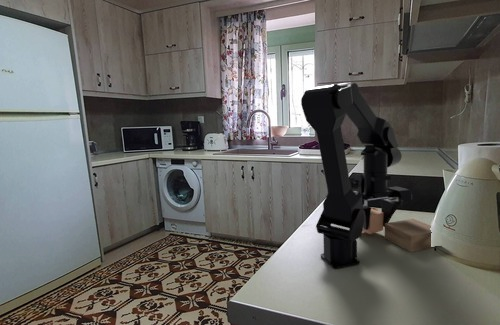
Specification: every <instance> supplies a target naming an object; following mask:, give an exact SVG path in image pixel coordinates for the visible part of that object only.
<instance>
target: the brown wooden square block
mask: <svg viewBox="0 0 500 325" xmlns="http://www.w3.org/2000/svg"><path fill="white" fill-rule="evenodd" d="M431 226H432V225H430V224H427V223H425V222H423V221H420V220H418V219H415V218H411V219H405V220H404V219H403V220H398V221H397V220H396V221H391V222H390V221H389V222H388V223H385V227H384V238H385V239H386V240H388V241H389V242H391V243H393V244H395V245H397V246H399V247H401V248H403V249H404V250H406V251H408V252H410V253H412V252H413V253H414V252H418V251H419V252H420V251H422V250H428V249H432V248H431V233H432V232H431V230H430V228H431Z"/></svg>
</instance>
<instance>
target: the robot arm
mask: <svg viewBox="0 0 500 325" xmlns="http://www.w3.org/2000/svg"><path fill="white" fill-rule="evenodd" d="M359 88H360V87H359V85H358V84H357V83H356V82H352V81H351V82H343V83H335V84H330V85H321V86H316V87H314V86H313V87H308V88H307V89H306V90H305V91H304V92H303V95H302V97H301V99H300V103H301V104H300V105H301V108H302V112H303V114H304V118H305V120H306V123H307V124H308V125H309V126H310V127H311V128H312V129H313V130H314V131H315V133H316V136H317V141H318V142H317V143H318V148H319V153H320V157H321V163H322V168H323V173H324V174H323V175H324V178H325V183H326V184H325V186H326V188H327V194H326V196H325V198H324V201H323V203H322V207H323V209H322V212H321V214H320V216H319V219H318V221H317V223H316V225H315V228H316V231H317V234H320V235H321V234H322V235H323V253H320V258H322V259H323V260H324V261H325V262H326V263H327V264H328V265H329V266H330V267H331V268H333V269H340V268H341V269H342V268H345V267H350V266H351V267H352V266H356V265H360V264H361V263H360V260H359V259H357V257H358V241H357V240H358V239H359V238H360V237H362V234H363V231H362V230H363V227H364V229H365V230H368V226H369V220H370V213H371V208H372V207H370V206H368V202H373V201H379V204H380V205H381V206H380V207H381V212H383V228H385V223H390V220H391V218H392V217H393V215H394V214H395V212H396V211H397V210H398V208H399V207H400V206H402V205H403V202H410V201H412V200H413V193H412V192H411V190H410V189H408V188H404V187H400V186H399V185H398V186H390V187H388V181H389V180H392V179H391V178H392V177H391V175H389V174H388V168H390V167H392V166H396V165H398V163H400V162H401V159H402V152H401V150H400V149H399V148H398V142H397V139H396V136H395V131H394V129H393V127H392V126H391V124H390V123H389V121H387V120H386V119H384V118H382V117H379V116H377V115H376V114H375V113H374V111H373V110H372V109H371V107H370V105H369V104H368V103H367V101H366V100H365V98H364V96H363V95H362V93H361V92H360V89H359ZM346 115H347V117H348V118H349V119H350V121H351V122H352V123H353V125H355V128H357V134H356V137H357V138H358V140H359V141H360V143H361V144H362V145H363V146H364V148H363V150H361V151H360V155H361V156H363V173H360V175H359V179H356V178H355V177H353V176H351V177H350V174H349V169H348V162H347V158H346V157H347V156H346V152H345V150H346V149H345V145H344V138H343V135H342V134H343V133H342V125H343V122H344V119H345V118H346ZM399 200H400V201H399ZM338 226H339V227H338ZM342 227H343V228H342ZM346 228H347V229H346Z"/></svg>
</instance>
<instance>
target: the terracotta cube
mask: <svg viewBox="0 0 500 325" xmlns="http://www.w3.org/2000/svg"><path fill="white" fill-rule="evenodd" d="M382 231H384V227H383V212H382V211H380V210H378V211H377V210H373V209H371V213H370V220H369V226H368V230H365V229H364V227H363V230H362V233H363V232H364V233H365V234H366V233H367V234H369V235H372V234H375V233H379V232H382Z"/></svg>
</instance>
